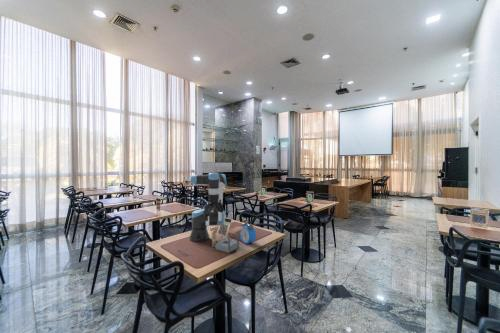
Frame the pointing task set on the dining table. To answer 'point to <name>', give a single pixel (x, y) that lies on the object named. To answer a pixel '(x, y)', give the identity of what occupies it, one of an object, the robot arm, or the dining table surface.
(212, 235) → the peg
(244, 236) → the alarm clock
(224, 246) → the socket station
